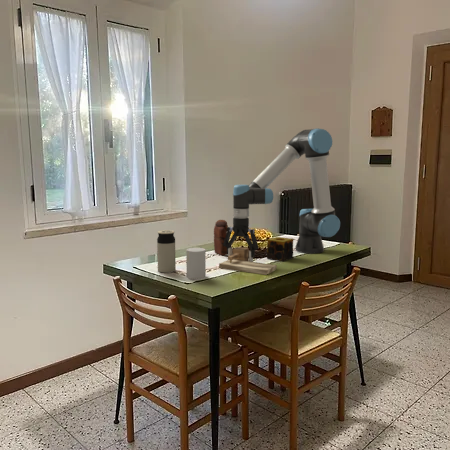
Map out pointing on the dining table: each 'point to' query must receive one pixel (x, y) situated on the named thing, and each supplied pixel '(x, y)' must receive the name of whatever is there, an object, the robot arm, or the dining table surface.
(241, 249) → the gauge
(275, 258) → the candle
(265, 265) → the board
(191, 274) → the grey cylinder
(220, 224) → the wooden figurine
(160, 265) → the travel mug
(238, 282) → the dining table surface
